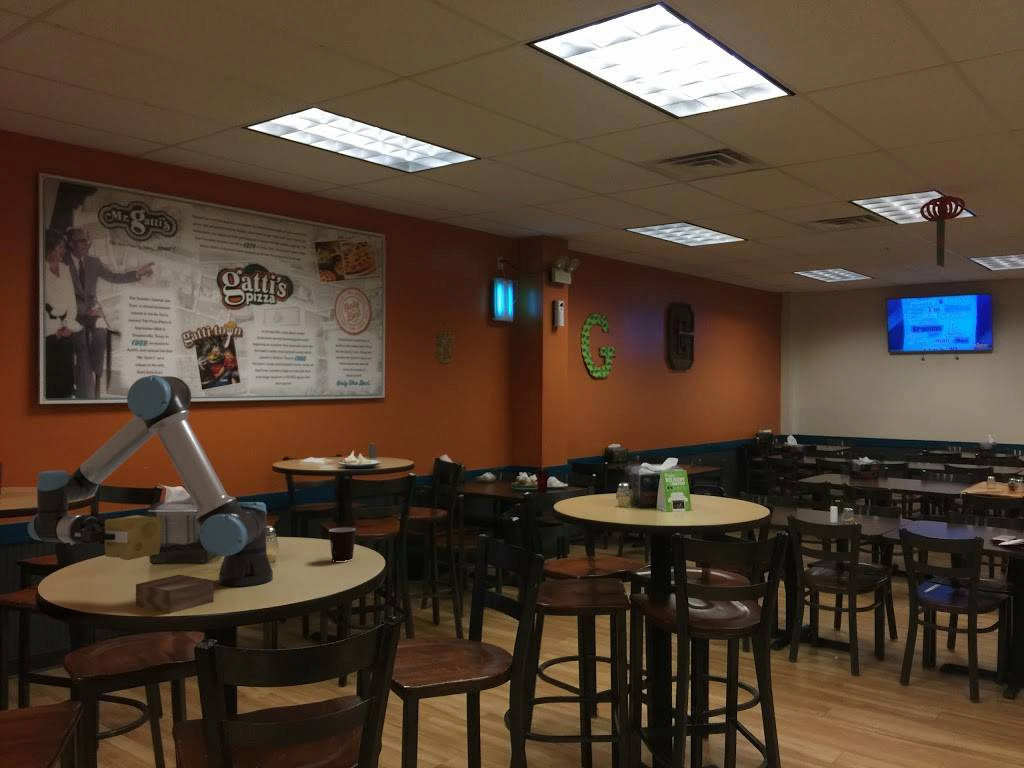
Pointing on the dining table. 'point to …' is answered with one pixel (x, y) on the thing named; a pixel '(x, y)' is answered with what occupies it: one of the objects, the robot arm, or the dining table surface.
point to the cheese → (135, 537)
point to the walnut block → (174, 593)
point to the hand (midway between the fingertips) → (143, 533)
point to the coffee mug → (342, 543)
